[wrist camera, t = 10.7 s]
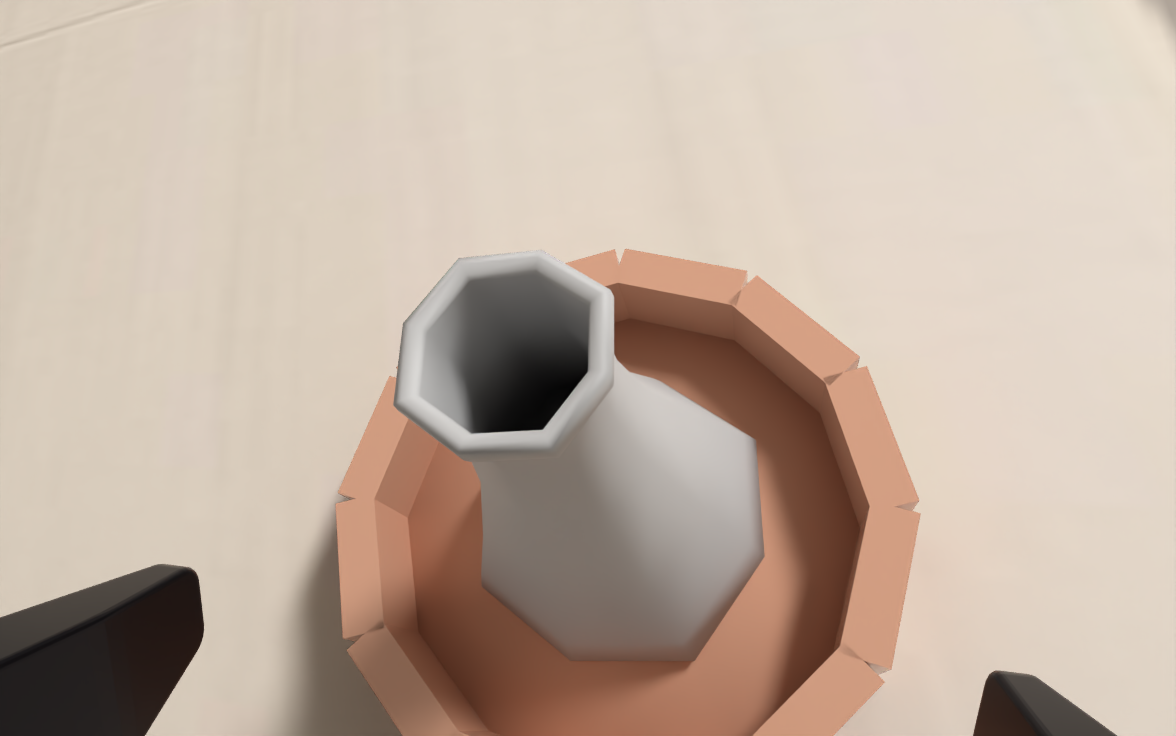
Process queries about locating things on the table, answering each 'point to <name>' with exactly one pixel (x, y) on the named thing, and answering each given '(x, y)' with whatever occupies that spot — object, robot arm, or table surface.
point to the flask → (581, 463)
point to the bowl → (761, 611)
